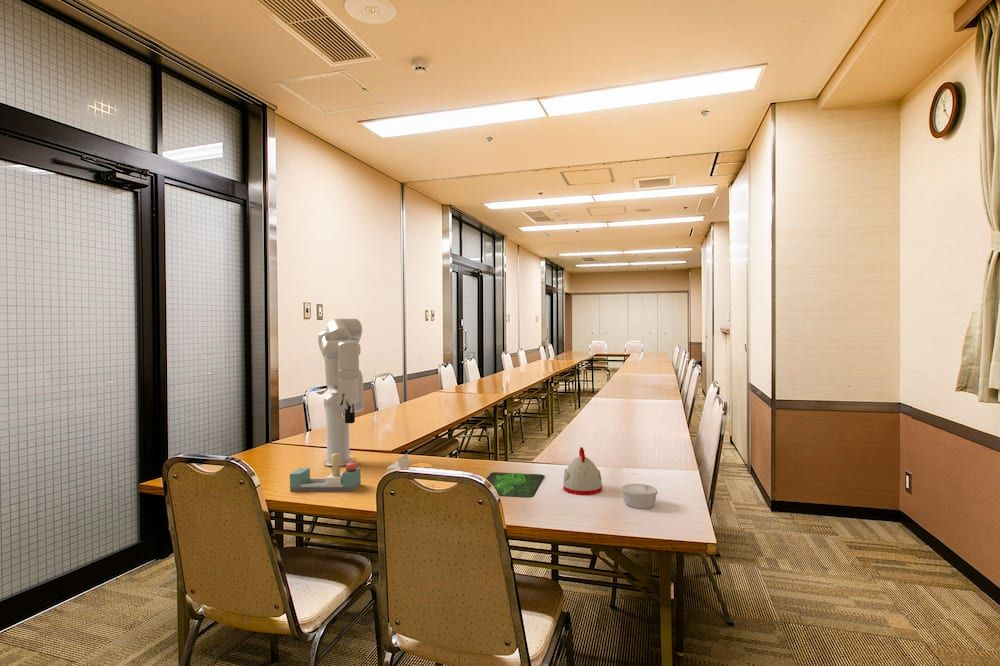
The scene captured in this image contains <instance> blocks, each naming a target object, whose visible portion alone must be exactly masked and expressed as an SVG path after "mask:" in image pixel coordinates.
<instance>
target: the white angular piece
mask: <svg viewBox="0 0 1000 666" xmlns="http://www.w3.org/2000/svg"><path fill="white" fill-rule="evenodd" d="M403 460H404V461H403ZM404 467H409V468H410V462H409V454H408V453H405V454H404V455H402V456H401V457H400V458H398V461H394V462H393V463H392V464H391V465H389V466H387V467H386V473H387V472H389V471H391V470H394V469H398V468H404Z"/></svg>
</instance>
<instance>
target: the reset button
mask: <svg viewBox="0 0 1000 666" xmlns="http://www.w3.org/2000/svg"><path fill="white" fill-rule="evenodd" d="M357 468H358V463H357V462H353V463H347V464H346V465H345V471H346V470H347V471H353V470H356V469H357Z"/></svg>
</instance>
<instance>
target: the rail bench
mask: <svg viewBox="0 0 1000 666" xmlns="http://www.w3.org/2000/svg"><path fill="white" fill-rule="evenodd" d="M341 473H342V482H343V484H325V477H322V478H321V477H317V478H316V477H314V478H313V477H311V468H310V467H298V468H297V469H296V470H294V471H292V472H290V473H289V488H290V489H289V490H290V492H354V491H355V490H357V488H358V486H359V485H360V484H361V483H362V482H361V481H362V480H361V479H362V478H361V477H362V475H361V467H357V469H356V470H353V471H347V470H346V469H345V471H344V472H341ZM361 485H362V484H361ZM361 485H360V486H361ZM360 486H359V487H360Z"/></svg>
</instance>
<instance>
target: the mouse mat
mask: <svg viewBox="0 0 1000 666" xmlns="http://www.w3.org/2000/svg"><path fill="white" fill-rule="evenodd" d="M544 477H545V475H544V474H538V473H520V472H519V473H517V472H500V471H499V472H495V471H494V472H491V473H489V475H488V476H487V477H486V478H485V480H486V479H487V480H488V481H489V482H490V483H491V484H492V485H493V486H494V488H495V489H496V491H497V493H498V495H499V496H498V497H507V498H509V497H510V498H520V499H521V498H524V499H530V498H533V497H534V496H535V495H536V493H537V491H538V489H539V487H540V485H541V484H542V481H543V479H544Z"/></svg>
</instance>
